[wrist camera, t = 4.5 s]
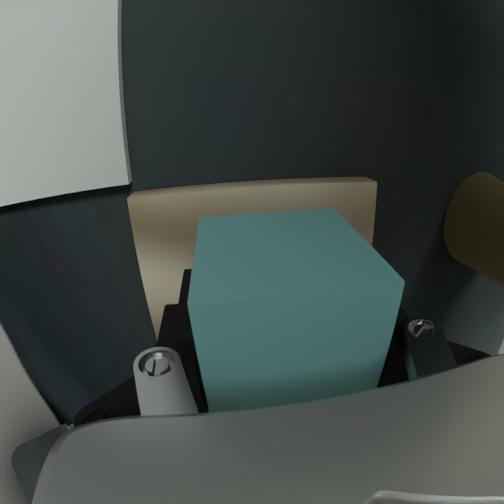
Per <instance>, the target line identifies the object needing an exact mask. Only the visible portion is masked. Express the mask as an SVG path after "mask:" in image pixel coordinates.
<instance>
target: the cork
mask: <svg viewBox="0 0 504 504" xmlns="http://www.w3.org/2000/svg"><path fill="white" fill-rule="evenodd" d="M443 232H444V241H445V245H446V247H447V250H448V252H449V254H450V255H451V256H452V257H453V258H455V259H456V260H457V261H459V262H461V263H463V264H465V265H467V266H468V267H470V268H472V269H474V270H476V271H478V272H480V273H482V274H483V275H485V276H487V277H489V278H491V279H493V280H494V281H496V282H498V283H500V284H502V285H503V286H504V182H503V181H501V180H500V179H498V178H496V177H495V176H493V175H491V174H490V173H488V172H477V173H475V174H473V175H471V176H469V177H467V178H466V179H465V180H464V181H463V182H462V183H461V184H460V185H459V186H458V187H457V189H456V191H455V192H454V194H453V196H452V197H451V199H450V202H449V205H448V208H447V211H446V213H445V220H444V228H443Z"/></svg>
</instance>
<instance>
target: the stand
mask: <svg viewBox="0 0 504 504" xmlns="http://www.w3.org/2000/svg"><path fill="white" fill-rule="evenodd" d="M376 194H377V182H376V181H374V180H372V179H370V178H368V177H325V178H296V179H275V180H257V181H242V182H228V183H215V184H203V185H192V186H182V187H172V188H163V189H154V190H145V191H137V192H133V193H132V194H131V195H130V196H129V197H128V198H127V202H128V208H129V214H130V220H131V226H132V232H133V237H134V242H135V248H136V253H137V258H138V263H139V267H140V272H141V277H142V281H143V286H144V290H145V295H146V299H147V303H148V307H149V311H150V315H151V319H152V323H153V327H154V331H155V335H156V338H157V340H158V335H159V330H160V325H161V321H162V316H163V311H164V307H165V305H166V304H178V302H179V296H180V290H181V284H182V278H183V273H184V269H192V264H193V257H194V250H195V244H196V237H197V230H198V224H199V217H211V216H223V215H236V214H250V213H264V212H279V211H296V210H313V209H332V208H333V209H334V210H335V211H337V212H338V213H339V214H340V215H341V216H342V217H343V218H344V219H345V220H346V221H347V222H348V223H349V224H350V225H351V226H352V227H353V228H354V229H355V230H356V231H357V232H358V233H359V234H360V235H361V236H362V237H363V238H364V239H365V240H366V241H367V242H368V243H369V244H370V245H371V246H372V240H373V231H374V220H375V208H376Z"/></svg>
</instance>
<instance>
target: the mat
mask: <svg viewBox="0 0 504 504" xmlns="http://www.w3.org/2000/svg"><path fill="white" fill-rule="evenodd" d="M121 7H122V0H0V207H1V206H5V205H10V204H15V203H19V202H24V201H29V200H34V199H40V198H45V197H50V196H56V195H61V194H67V193H73V192H79V191H85V190H92V189H98V188H105V187H112V186H119V185H127V184H130V183H131V182H132V176H131V169H130V160H129V152H128V142H127V132H126V121H125V109H124V95H123V77H122V47H121Z"/></svg>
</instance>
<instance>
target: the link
mask: <svg viewBox="0 0 504 504" xmlns="http://www.w3.org/2000/svg"><path fill="white" fill-rule="evenodd" d="M404 283H405V281H404V280H403V279H402V278H401V277H400V275H399V274H398V273H397V272H396V271H395V270H394V269H393V268H392V267H391V266H390V265H389V264H388V263H387V262H386V261H385V260H384V259H383V257H382V256H381V255H380V254H379V253H378V252H377V251H376V250H375V249H374V248H373V247H372V246H371V245H370V244H369V243H368V242H367V241H366V240H365V239H364V238H363V237H362V236H361V235H360V234H359V233H358V232H357V231H356V230H355V229H354V228H353V227H352V226H351V225H350V224H349V223H348V222H347V221H346V220H345V219H344V218H343V217H342V216H341V215H340V214H339V213H338V212H337V211H335V210H334V209H333V208H332V209H313V210H296V211H279V212H264V213H250V214H236V215H223V216H211V217H199V224H198V230H197V237H196V244H195V250H194V257H193V264H192V272H191V279H190V287H189V294H188V302H187V305H188V311H189V316H190V322H191V327H192V332H193V337H194V342H195V347H196V352H197V357H198V362H199V367H200V372H201V376H202V381H203V385H204V390H205V394H206V399H207V403H208V407H209V413H211V412H226V411H238V410H249V409H258V408H267V407H275V406H283V405H290V404H297V403H304V402H310V401H316V400H322V399H328V398H333V397H338V396H343V395H348V394H353V393H358V392H363V391H367V390H372V389H376V388H377V385H378V382H379V379H380V376H381V372H382V369H383V366H384V363H385V359H386V356H387V352H388V349H389V345H390V342H391V338H392V334H393V330H394V327H395V323H396V319H397V315H398V310H399V306H400V302H401V297H402V293H403V288H404Z"/></svg>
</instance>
